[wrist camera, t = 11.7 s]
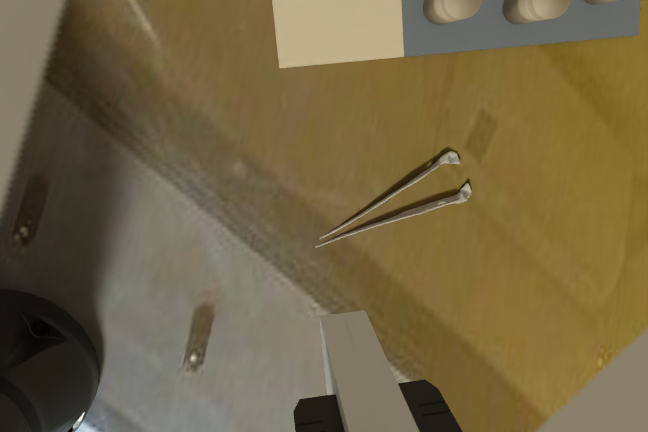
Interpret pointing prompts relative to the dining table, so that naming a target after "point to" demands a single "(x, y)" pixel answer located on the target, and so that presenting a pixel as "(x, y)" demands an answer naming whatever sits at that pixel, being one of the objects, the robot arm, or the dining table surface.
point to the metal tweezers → (458, 198)
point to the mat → (428, 29)
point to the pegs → (518, 7)
